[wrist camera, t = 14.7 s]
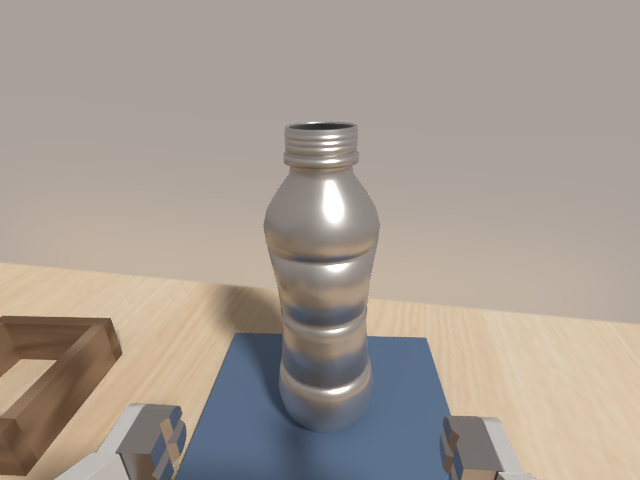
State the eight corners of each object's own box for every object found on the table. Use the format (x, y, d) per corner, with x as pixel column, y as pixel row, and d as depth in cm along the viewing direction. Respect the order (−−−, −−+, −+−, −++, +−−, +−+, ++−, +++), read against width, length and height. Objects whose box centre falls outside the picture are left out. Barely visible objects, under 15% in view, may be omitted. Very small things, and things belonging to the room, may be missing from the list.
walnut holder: (25, 475, 23) (0, 433, 21) (-119, 468, 23) (-155, 426, 22) (122, 353, 33) (110, 318, 31) (19, 350, 33) (2, 315, 32)
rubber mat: (489, 549, 19) (491, 543, 18) (159, 530, 20) (156, 523, 20) (425, 342, 33) (426, 337, 33) (236, 338, 34) (235, 333, 34)
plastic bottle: (372, 453, 23) (393, 135, 15) (270, 441, 24) (235, 135, 15) (371, 377, 29) (387, 118, 20) (290, 369, 30) (272, 118, 21)
